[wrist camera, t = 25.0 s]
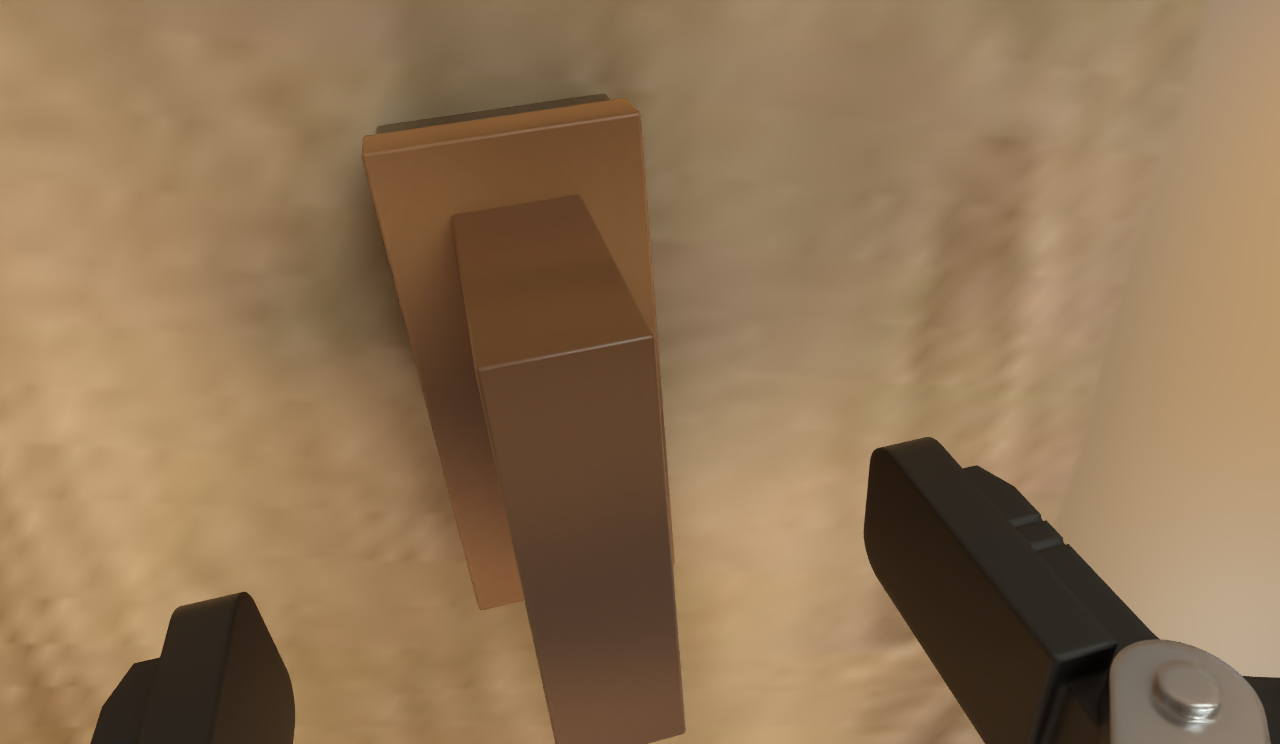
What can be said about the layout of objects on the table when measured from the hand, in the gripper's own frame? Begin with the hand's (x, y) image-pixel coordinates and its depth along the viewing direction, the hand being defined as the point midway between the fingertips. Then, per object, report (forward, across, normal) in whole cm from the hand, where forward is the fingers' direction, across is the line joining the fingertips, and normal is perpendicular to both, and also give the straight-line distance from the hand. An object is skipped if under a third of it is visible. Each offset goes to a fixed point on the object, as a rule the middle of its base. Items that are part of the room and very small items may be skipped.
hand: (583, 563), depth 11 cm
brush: (+8, 0, +1) cm, 8 cm away
